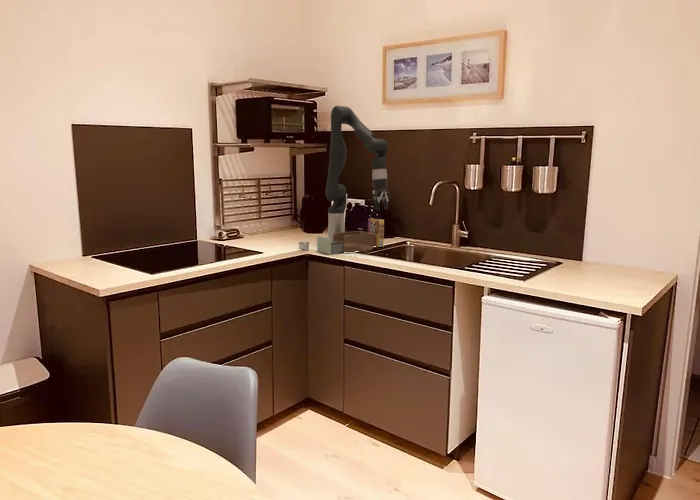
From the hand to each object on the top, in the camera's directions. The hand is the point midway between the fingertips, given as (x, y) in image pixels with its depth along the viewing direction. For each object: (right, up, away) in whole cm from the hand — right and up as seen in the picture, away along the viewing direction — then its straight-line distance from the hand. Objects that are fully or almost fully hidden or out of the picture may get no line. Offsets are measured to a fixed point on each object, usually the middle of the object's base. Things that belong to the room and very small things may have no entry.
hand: (381, 210), depth 275 cm
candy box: (-2, -19, +16) cm, 25 cm away
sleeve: (-15, -21, +5) cm, 26 cm away
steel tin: (-41, -21, +6) cm, 46 cm away
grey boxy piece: (-22, -22, 0) cm, 31 cm away
